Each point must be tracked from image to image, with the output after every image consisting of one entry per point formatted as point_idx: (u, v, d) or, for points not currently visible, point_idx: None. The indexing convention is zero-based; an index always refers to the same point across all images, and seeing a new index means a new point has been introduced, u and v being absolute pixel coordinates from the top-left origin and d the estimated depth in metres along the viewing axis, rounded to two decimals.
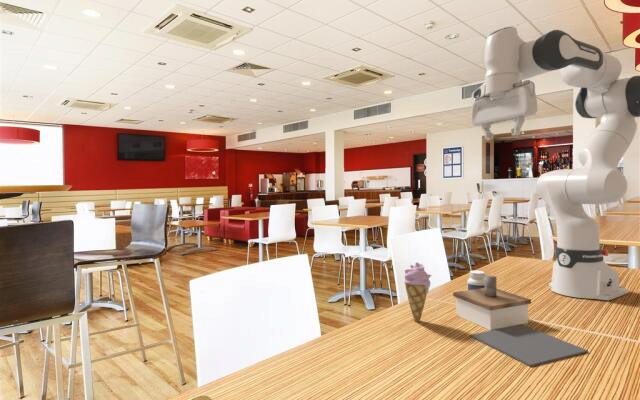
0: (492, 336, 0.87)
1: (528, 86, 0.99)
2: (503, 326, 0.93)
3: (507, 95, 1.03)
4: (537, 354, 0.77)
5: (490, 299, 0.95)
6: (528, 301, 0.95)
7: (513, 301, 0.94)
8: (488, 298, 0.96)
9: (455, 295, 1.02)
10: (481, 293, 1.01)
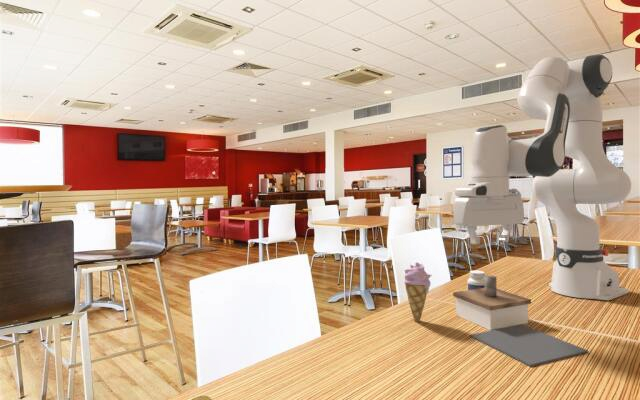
0: (492, 336, 0.87)
1: (517, 195, 1.01)
2: (503, 326, 0.93)
3: (506, 200, 0.97)
4: (537, 354, 0.77)
5: (490, 299, 0.95)
6: (528, 301, 0.95)
7: (513, 301, 0.94)
8: (488, 298, 0.96)
9: (455, 295, 1.02)
10: (481, 293, 1.01)
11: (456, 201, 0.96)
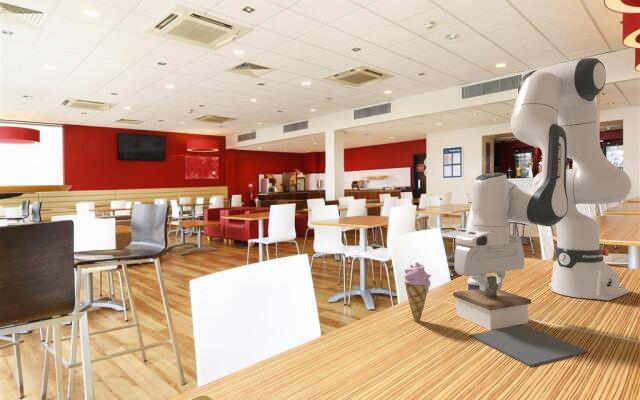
0: (492, 336, 0.87)
1: (518, 241, 1.01)
2: (503, 326, 0.93)
3: (506, 247, 0.98)
4: (537, 354, 0.77)
5: (490, 299, 0.95)
6: (528, 301, 0.95)
7: (513, 301, 0.94)
8: (488, 298, 0.96)
9: (455, 295, 1.02)
10: (481, 293, 1.01)
11: (457, 249, 0.97)
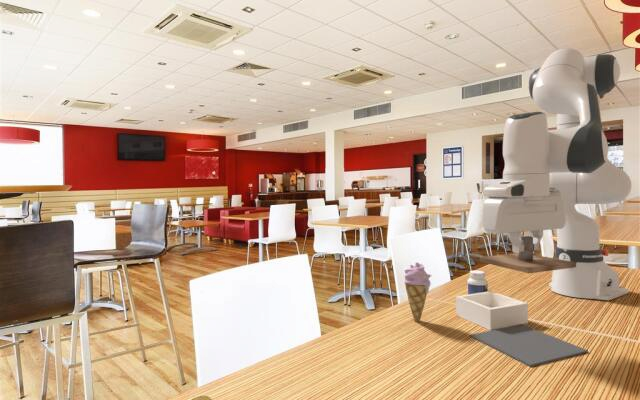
0: (492, 336, 0.87)
1: (557, 195, 0.85)
2: (503, 326, 0.93)
3: (545, 201, 0.82)
4: (537, 354, 0.77)
5: (527, 263, 0.79)
6: (573, 264, 0.78)
7: (555, 264, 0.77)
8: (524, 262, 0.80)
9: (482, 260, 0.86)
10: (513, 258, 0.85)
11: (486, 203, 0.80)
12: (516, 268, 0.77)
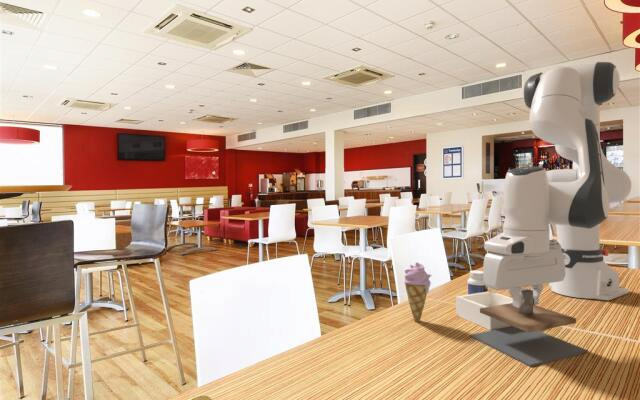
0: (492, 336, 0.87)
1: (557, 247, 0.85)
2: (503, 326, 0.93)
3: (545, 255, 0.82)
4: (537, 354, 0.77)
5: (527, 318, 0.79)
6: (573, 320, 0.79)
7: (555, 320, 0.78)
8: (524, 316, 0.80)
9: (482, 312, 0.86)
10: (514, 310, 0.85)
11: (486, 258, 0.81)
12: (516, 325, 0.77)
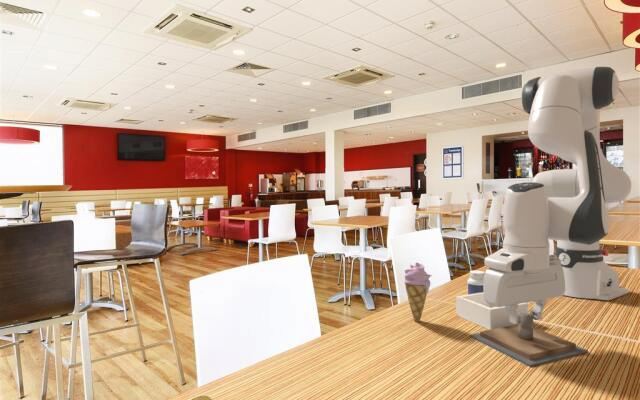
0: None
1: (557, 262, 0.85)
2: (503, 326, 0.93)
3: (545, 271, 0.82)
4: None
5: (527, 344, 0.80)
6: (573, 346, 0.79)
7: (555, 346, 0.78)
8: (524, 342, 0.81)
9: (483, 335, 0.86)
10: (514, 334, 0.85)
11: (486, 274, 0.81)
12: (516, 351, 0.78)
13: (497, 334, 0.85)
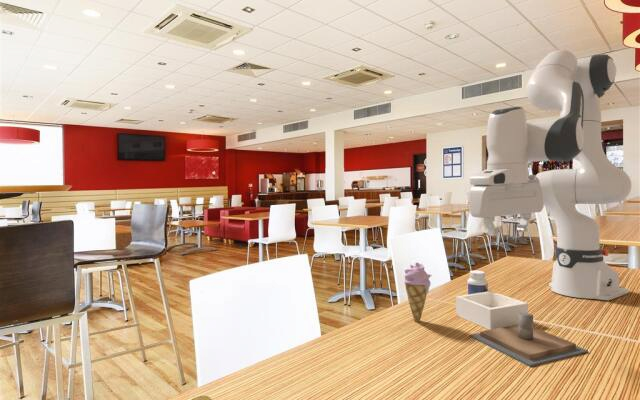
0: None
1: (536, 182, 0.94)
2: (503, 326, 0.93)
3: (525, 188, 0.91)
4: None
5: (527, 344, 0.80)
6: (573, 346, 0.79)
7: (555, 346, 0.78)
8: (524, 342, 0.81)
9: (483, 335, 0.86)
10: (514, 334, 0.85)
11: (472, 190, 0.89)
12: (516, 351, 0.78)
13: (497, 334, 0.85)
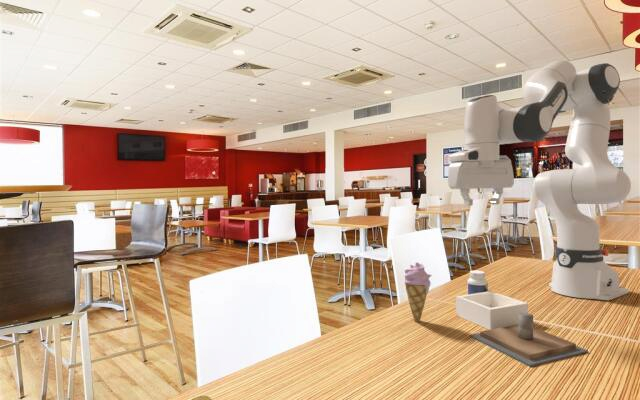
0: None
1: (507, 161, 1.08)
2: (503, 326, 0.93)
3: (497, 165, 1.05)
4: None
5: (527, 344, 0.80)
6: (573, 346, 0.79)
7: (555, 346, 0.78)
8: (524, 342, 0.81)
9: (483, 335, 0.86)
10: (514, 334, 0.85)
11: (450, 166, 1.04)
12: (516, 351, 0.78)
13: (497, 334, 0.85)
